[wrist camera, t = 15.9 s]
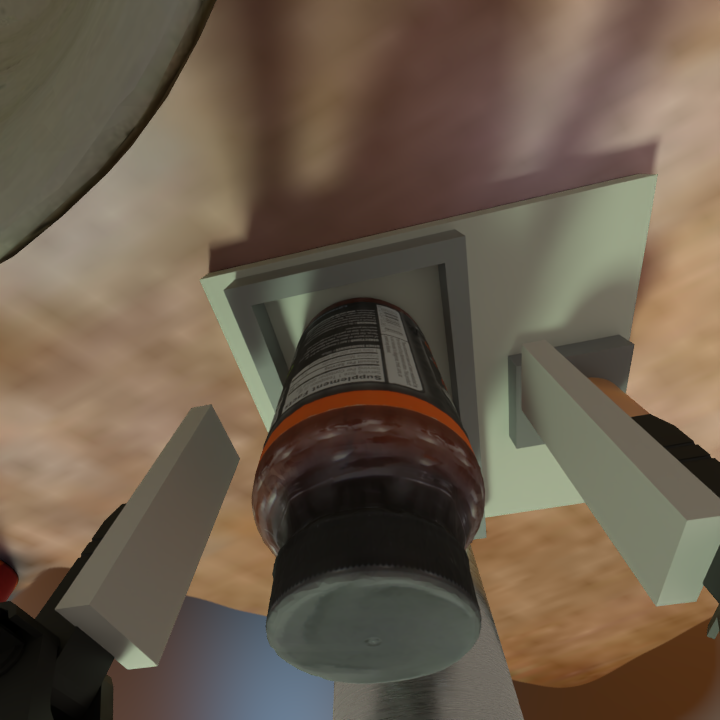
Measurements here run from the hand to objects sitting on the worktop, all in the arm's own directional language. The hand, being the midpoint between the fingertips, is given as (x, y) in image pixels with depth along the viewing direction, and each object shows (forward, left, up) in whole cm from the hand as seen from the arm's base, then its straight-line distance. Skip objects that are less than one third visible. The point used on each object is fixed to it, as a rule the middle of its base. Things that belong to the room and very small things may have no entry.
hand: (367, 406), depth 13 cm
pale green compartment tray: (+4, +3, -5) cm, 7 cm away
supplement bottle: (0, 0, -4) cm, 4 cm away
